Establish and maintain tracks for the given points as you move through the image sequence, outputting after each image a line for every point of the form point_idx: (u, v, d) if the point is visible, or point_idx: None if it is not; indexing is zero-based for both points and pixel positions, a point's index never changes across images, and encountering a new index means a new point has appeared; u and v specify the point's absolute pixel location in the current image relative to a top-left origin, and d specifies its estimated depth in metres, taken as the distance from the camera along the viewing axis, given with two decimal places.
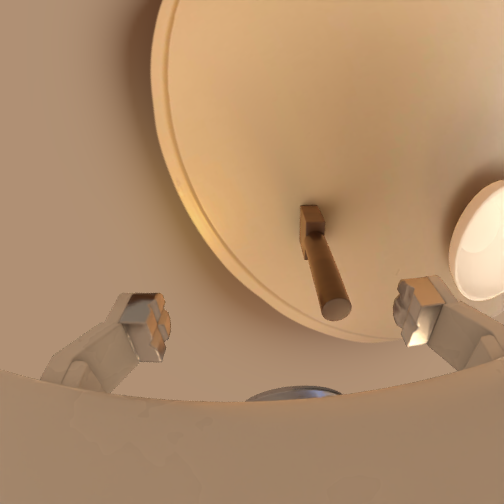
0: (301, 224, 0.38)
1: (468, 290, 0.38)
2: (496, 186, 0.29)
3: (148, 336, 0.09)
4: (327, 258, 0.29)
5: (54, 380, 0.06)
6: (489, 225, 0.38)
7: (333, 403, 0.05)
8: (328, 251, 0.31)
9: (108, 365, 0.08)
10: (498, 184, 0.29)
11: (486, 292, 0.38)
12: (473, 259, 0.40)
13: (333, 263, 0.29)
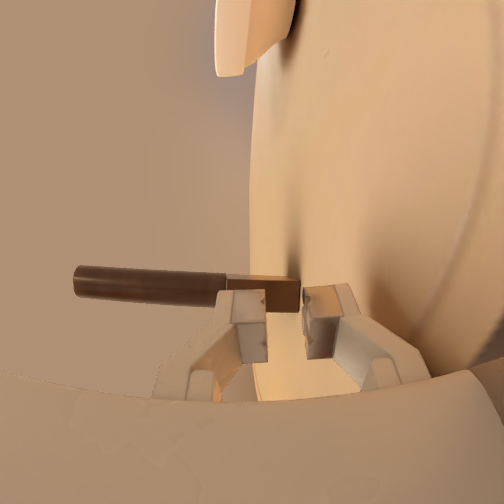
0: None
1: None
2: None
3: (263, 335, 0.08)
4: None
5: (173, 397, 0.06)
6: None
7: (334, 403, 0.05)
8: None
9: (218, 371, 0.08)
10: None
11: None
12: None
13: None
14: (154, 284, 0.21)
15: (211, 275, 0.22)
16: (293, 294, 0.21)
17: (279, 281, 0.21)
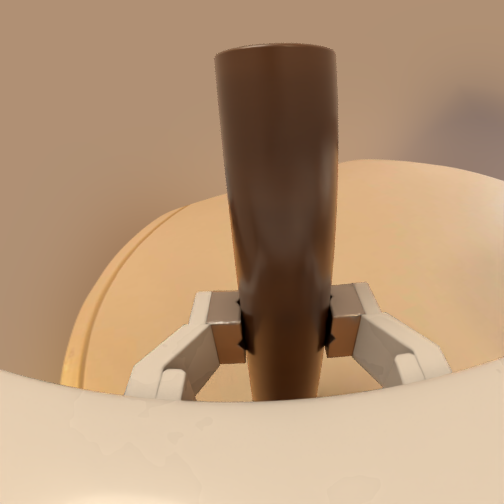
0: None
1: None
2: None
3: (238, 336, 0.08)
4: None
5: (145, 394, 0.06)
6: None
7: (334, 403, 0.05)
8: None
9: (194, 370, 0.08)
10: None
11: None
12: None
13: None
14: (300, 336, 0.08)
15: (315, 396, 0.10)
16: None
17: None
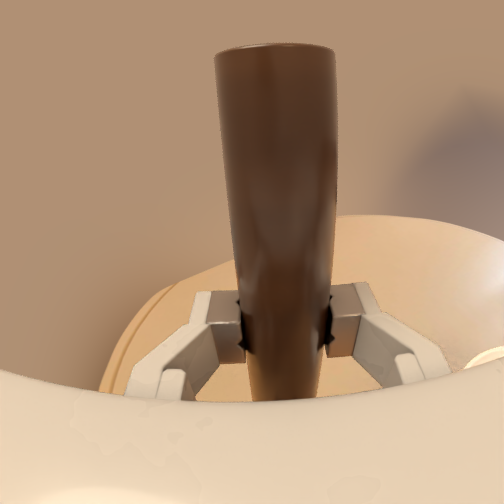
0: None
1: None
2: None
3: (238, 336, 0.08)
4: None
5: (145, 395, 0.06)
6: None
7: (333, 403, 0.05)
8: None
9: (194, 370, 0.08)
10: None
11: None
12: None
13: None
14: (299, 335, 0.08)
15: (315, 395, 0.10)
16: None
17: None
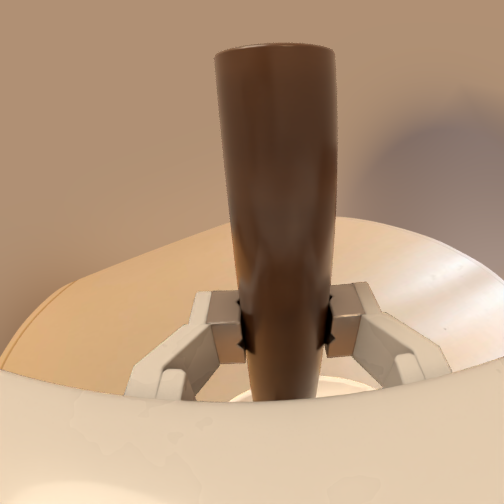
0: None
1: None
2: None
3: (238, 336, 0.08)
4: None
5: (145, 394, 0.06)
6: None
7: (333, 403, 0.05)
8: None
9: (194, 370, 0.08)
10: None
11: None
12: None
13: None
14: (299, 334, 0.08)
15: (315, 395, 0.10)
16: None
17: None
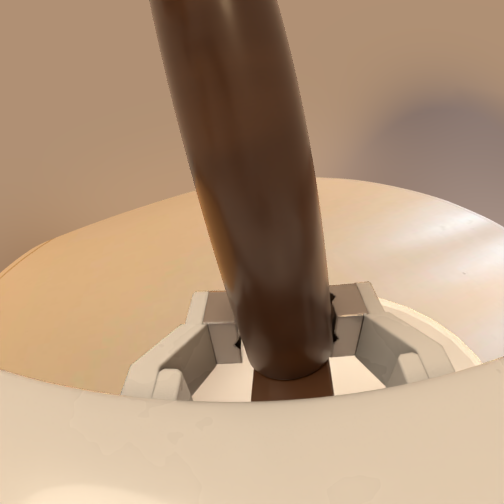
0: None
1: None
2: None
3: (235, 336, 0.08)
4: None
5: (141, 394, 0.06)
6: None
7: (333, 403, 0.05)
8: None
9: (190, 370, 0.08)
10: None
11: None
12: None
13: None
14: (267, 190, 0.05)
15: (327, 331, 0.08)
16: None
17: None
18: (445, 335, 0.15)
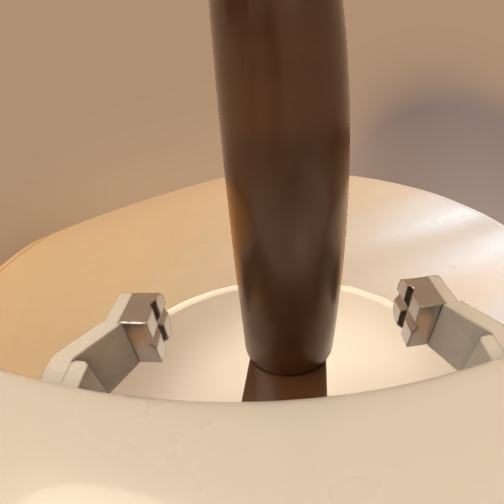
0: None
1: None
2: None
3: (148, 336, 0.09)
4: None
5: (54, 380, 0.06)
6: None
7: (334, 403, 0.05)
8: None
9: (108, 365, 0.08)
10: None
11: None
12: None
13: None
14: (303, 187, 0.05)
15: (331, 334, 0.08)
16: None
17: None
18: None
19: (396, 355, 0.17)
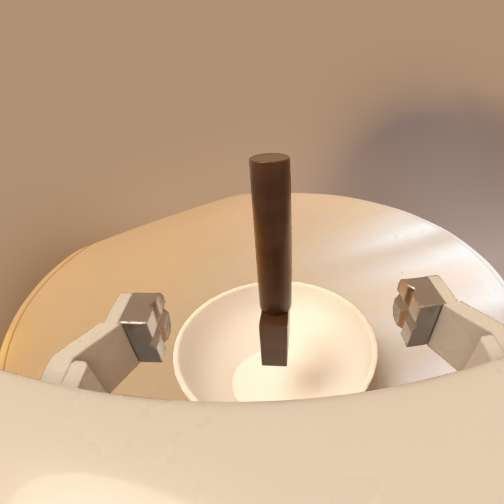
0: None
1: None
2: None
3: (148, 336, 0.09)
4: None
5: (54, 380, 0.06)
6: (295, 378, 0.31)
7: (333, 402, 0.05)
8: None
9: (108, 365, 0.08)
10: None
11: None
12: None
13: None
14: (277, 260, 0.21)
15: (289, 300, 0.24)
16: (276, 363, 0.25)
17: (286, 356, 0.24)
18: (349, 306, 0.31)
19: (339, 324, 0.33)
